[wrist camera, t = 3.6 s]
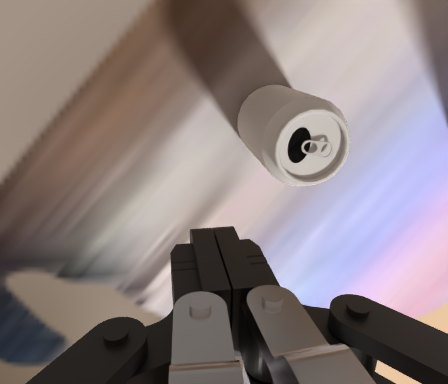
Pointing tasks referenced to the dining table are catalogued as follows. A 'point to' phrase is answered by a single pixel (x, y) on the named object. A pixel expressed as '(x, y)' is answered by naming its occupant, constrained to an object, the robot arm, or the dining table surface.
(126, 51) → the dining table surface
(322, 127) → the can
